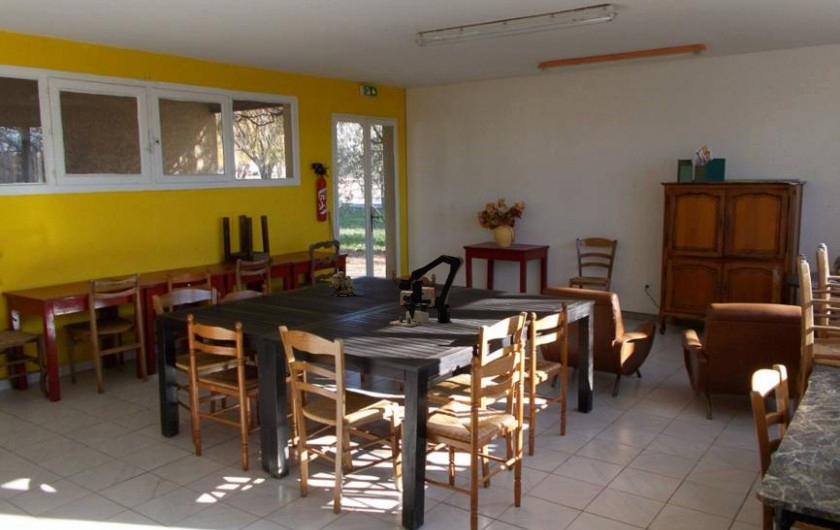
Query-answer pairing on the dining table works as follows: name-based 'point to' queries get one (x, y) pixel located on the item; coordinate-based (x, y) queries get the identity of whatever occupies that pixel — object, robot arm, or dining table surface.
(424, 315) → the block
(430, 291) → the stack of blocks
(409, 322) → the base
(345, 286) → the owl figurine
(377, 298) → the dining table surface
